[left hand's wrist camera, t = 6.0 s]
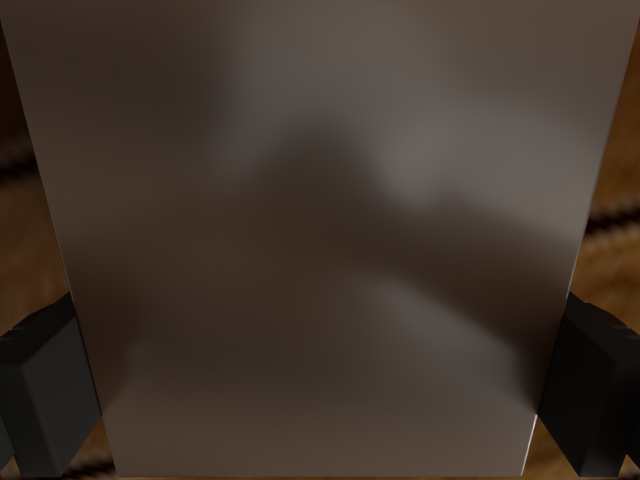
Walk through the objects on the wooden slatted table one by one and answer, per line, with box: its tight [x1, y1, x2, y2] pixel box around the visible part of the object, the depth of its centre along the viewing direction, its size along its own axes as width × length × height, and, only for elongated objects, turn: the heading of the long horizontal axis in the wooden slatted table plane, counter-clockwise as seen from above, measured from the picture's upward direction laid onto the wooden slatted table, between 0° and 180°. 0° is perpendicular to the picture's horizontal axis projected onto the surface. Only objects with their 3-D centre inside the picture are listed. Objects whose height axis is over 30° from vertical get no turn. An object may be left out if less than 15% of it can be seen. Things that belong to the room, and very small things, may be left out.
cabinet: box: [0, 0, 640, 477], centre depth 11 cm, size 18×10×10 cm, turn 0°
